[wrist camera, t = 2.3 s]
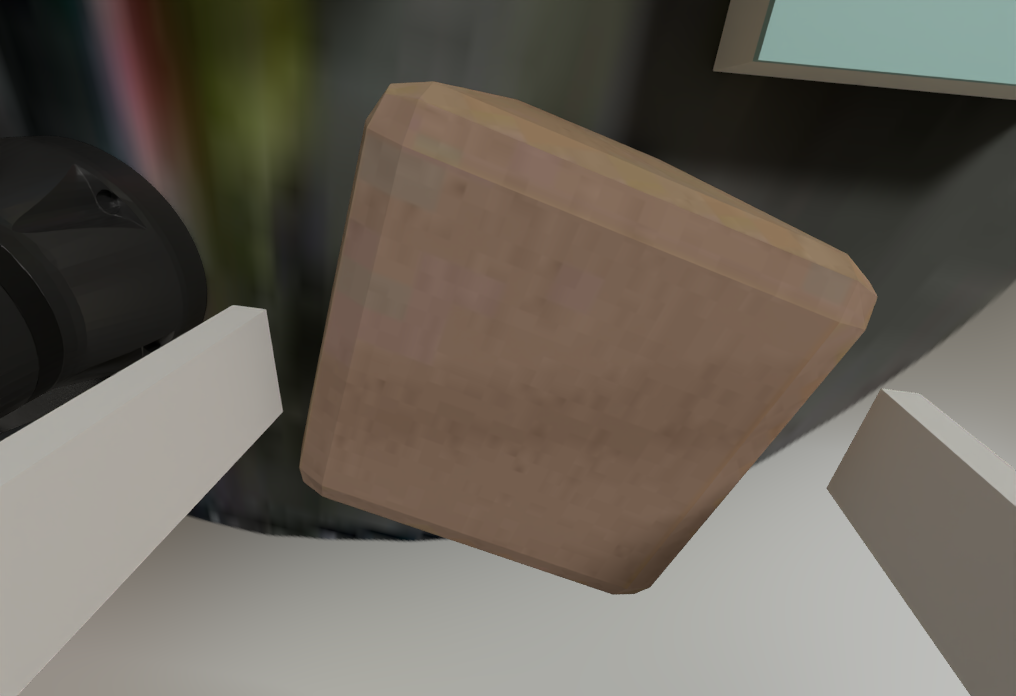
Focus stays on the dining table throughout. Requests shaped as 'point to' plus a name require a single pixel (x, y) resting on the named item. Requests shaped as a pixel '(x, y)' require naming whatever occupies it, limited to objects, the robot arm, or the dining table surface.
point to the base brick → (876, 43)
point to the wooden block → (558, 338)
